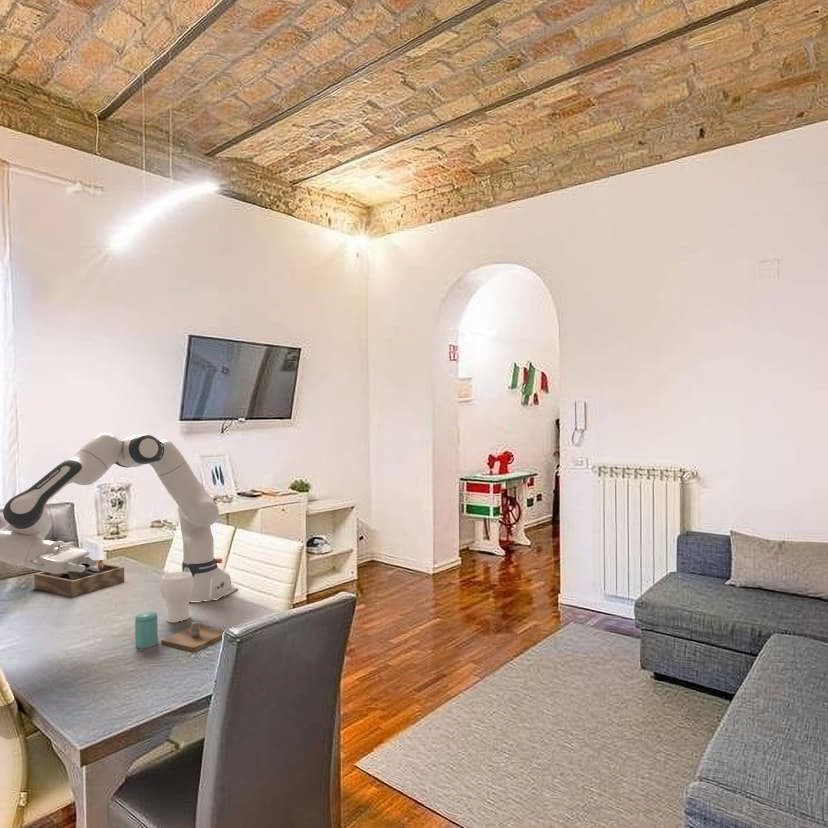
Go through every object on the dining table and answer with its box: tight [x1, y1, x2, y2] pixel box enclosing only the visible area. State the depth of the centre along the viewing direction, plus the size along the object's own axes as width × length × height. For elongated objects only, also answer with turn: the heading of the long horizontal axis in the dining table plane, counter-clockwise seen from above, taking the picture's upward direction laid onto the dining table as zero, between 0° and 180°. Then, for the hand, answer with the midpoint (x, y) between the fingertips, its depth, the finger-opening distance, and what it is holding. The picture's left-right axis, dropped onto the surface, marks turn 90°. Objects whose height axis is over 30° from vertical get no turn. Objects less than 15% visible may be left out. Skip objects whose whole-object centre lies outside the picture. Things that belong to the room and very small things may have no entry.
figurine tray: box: [33, 563, 125, 598], centre depth 245 cm, size 22×25×6 cm
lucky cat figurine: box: [57, 557, 105, 580], centre depth 246 cm, size 15×12×14 cm
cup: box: [160, 571, 194, 623], centre depth 204 cm, size 11×11×15 cm
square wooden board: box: [160, 621, 225, 653], centre depth 185 cm, size 14×14×5 cm
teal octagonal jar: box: [134, 611, 159, 649], centre depth 182 cm, size 6×6×9 cm
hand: (90, 566), depth 181 cm, fingers open, 8 cm apart
